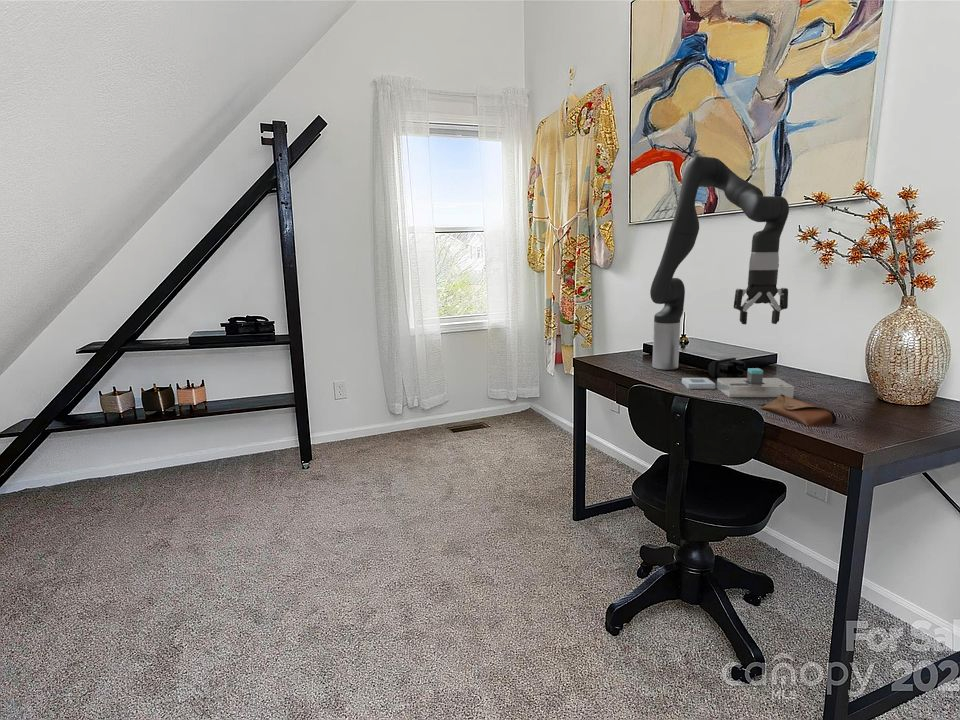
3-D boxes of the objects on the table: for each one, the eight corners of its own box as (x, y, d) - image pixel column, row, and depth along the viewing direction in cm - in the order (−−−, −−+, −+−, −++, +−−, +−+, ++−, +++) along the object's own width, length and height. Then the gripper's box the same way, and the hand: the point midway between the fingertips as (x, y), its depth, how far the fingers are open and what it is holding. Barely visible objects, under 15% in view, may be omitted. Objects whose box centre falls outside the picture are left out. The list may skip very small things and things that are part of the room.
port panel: (728, 400, 160) (729, 385, 159) (716, 390, 170) (717, 377, 169) (793, 400, 158) (794, 385, 157) (776, 390, 168) (777, 376, 168)
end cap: (727, 375, 190) (728, 356, 188) (744, 379, 184) (746, 359, 182) (707, 378, 185) (708, 359, 184) (724, 383, 179) (725, 363, 178)
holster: (681, 385, 177) (681, 377, 177) (706, 385, 177) (707, 377, 176) (688, 391, 170) (688, 383, 169) (714, 391, 169) (715, 383, 168)
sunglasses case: (755, 407, 151) (767, 386, 151) (772, 417, 154) (784, 397, 153) (809, 427, 134) (823, 403, 134) (827, 438, 137) (841, 415, 136)
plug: (746, 390, 165) (747, 368, 164) (757, 390, 165) (758, 368, 164) (750, 393, 162) (751, 370, 161) (761, 393, 162) (763, 370, 161)
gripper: (783, 267, 159) (778, 321, 163) (733, 268, 161) (729, 322, 164) (795, 268, 152) (790, 325, 155) (742, 269, 153) (738, 326, 157)
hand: (758, 323), depth 160 cm, fingers open, 8 cm apart
